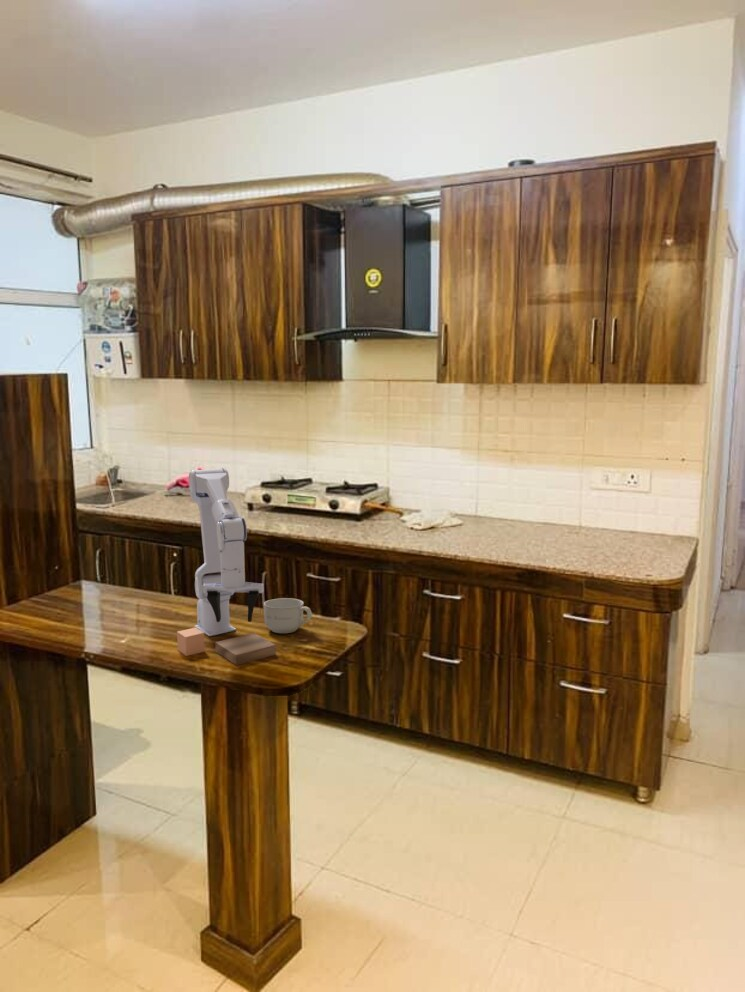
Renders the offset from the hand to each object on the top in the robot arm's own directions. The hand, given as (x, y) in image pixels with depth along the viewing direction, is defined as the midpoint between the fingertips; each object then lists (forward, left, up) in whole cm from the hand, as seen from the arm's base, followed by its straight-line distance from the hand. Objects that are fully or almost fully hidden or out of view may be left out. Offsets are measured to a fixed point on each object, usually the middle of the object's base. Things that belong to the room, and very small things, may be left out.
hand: (234, 620), depth 186 cm
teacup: (-7, +20, -10) cm, 23 cm away
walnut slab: (0, +3, -10) cm, 10 cm away
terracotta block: (-10, -7, -9) cm, 16 cm away
